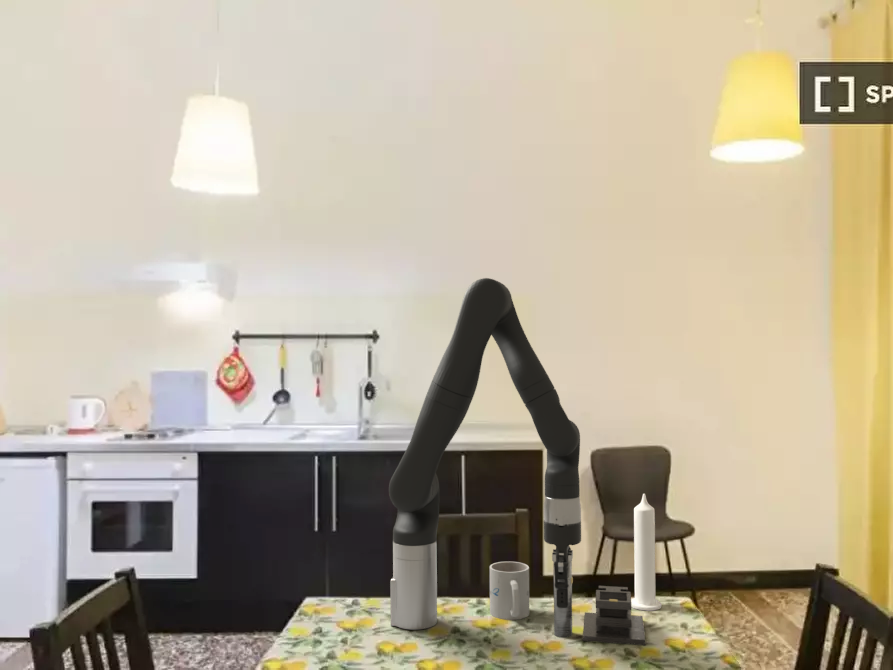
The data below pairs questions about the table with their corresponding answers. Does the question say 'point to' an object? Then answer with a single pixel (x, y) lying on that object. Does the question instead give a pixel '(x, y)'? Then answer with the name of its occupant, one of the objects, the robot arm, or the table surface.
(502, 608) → the mug
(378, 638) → the table surface
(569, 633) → the tube
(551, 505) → the robot arm
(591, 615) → the bracket
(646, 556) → the candle
